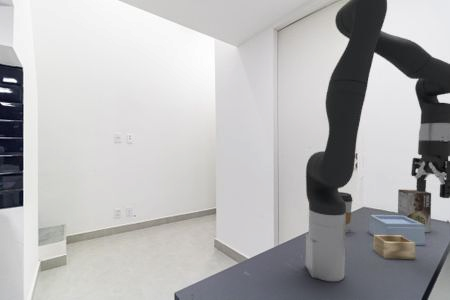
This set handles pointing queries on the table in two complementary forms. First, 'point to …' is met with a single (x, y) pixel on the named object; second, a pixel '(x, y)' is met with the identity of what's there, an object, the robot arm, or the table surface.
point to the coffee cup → (347, 208)
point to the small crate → (394, 247)
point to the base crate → (397, 227)
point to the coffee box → (415, 206)
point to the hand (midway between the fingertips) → (432, 194)
